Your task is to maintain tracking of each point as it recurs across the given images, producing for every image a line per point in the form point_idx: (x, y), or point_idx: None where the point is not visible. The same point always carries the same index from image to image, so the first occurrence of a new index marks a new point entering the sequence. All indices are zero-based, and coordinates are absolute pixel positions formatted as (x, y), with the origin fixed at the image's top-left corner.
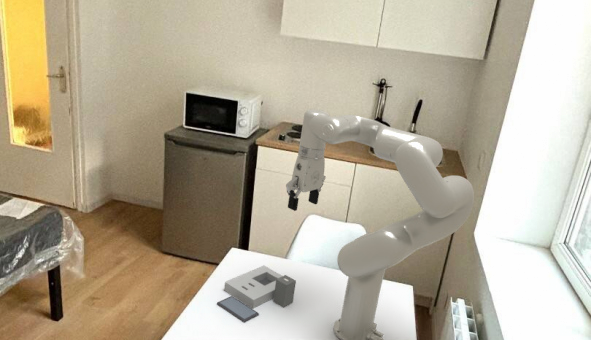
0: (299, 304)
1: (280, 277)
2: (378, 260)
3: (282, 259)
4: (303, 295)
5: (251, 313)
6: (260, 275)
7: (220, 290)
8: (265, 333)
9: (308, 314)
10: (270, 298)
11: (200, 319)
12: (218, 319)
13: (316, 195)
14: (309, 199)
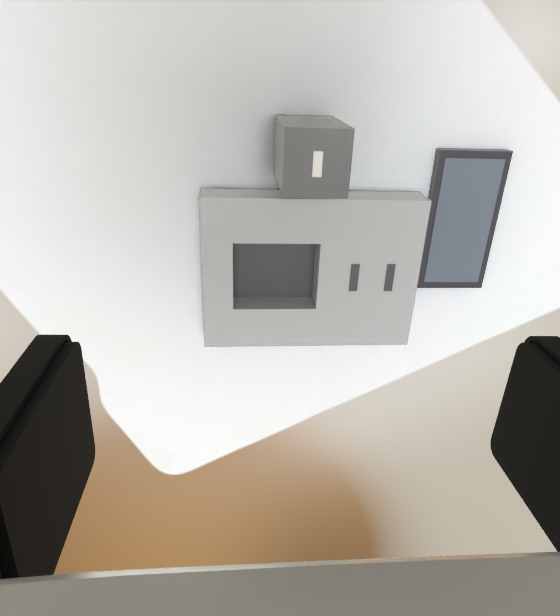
0: (258, 88)
1: (319, 196)
2: None
3: None
4: (190, 122)
5: (460, 166)
6: (266, 307)
7: None
8: (511, 50)
9: (287, 8)
10: None
11: None
12: (539, 222)
13: (22, 448)
14: (86, 465)
